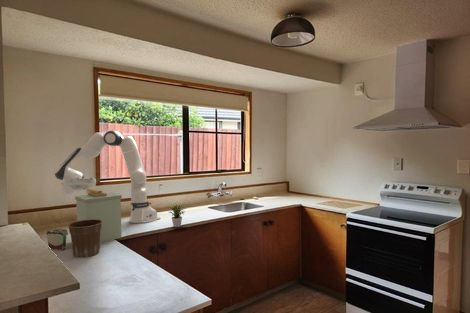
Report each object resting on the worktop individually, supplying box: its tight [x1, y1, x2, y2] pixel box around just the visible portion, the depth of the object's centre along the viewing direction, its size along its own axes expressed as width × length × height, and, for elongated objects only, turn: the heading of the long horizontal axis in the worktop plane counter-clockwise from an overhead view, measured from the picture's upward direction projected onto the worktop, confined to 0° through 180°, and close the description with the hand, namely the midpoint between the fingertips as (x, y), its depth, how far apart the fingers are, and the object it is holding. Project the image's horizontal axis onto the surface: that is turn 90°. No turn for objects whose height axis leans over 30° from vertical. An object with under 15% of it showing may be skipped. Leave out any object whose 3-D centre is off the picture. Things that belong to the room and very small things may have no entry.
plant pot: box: [67, 219, 102, 258], centre depth 160 cm, size 16×16×16 cm
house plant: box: [169, 202, 188, 228], centre depth 211 cm, size 14×14×16 cm
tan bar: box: [85, 187, 103, 195], centre depth 190 cm, size 4×18×3 cm, turn 44°
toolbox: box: [74, 191, 123, 243], centre depth 186 cm, size 21×17×28 cm
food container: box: [45, 228, 69, 251], centre depth 169 cm, size 12×6×10 cm, turn 74°
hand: (85, 178), depth 204 cm, fingers open, 8 cm apart
